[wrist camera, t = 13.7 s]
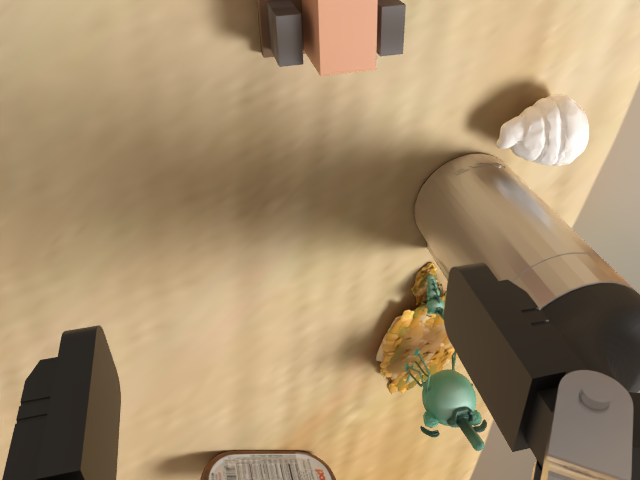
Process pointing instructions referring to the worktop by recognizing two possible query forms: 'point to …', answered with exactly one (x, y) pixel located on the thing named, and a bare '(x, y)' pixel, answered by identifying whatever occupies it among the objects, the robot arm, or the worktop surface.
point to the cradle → (287, 29)
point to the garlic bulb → (547, 131)
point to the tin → (267, 466)
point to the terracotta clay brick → (340, 35)
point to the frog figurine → (430, 362)
